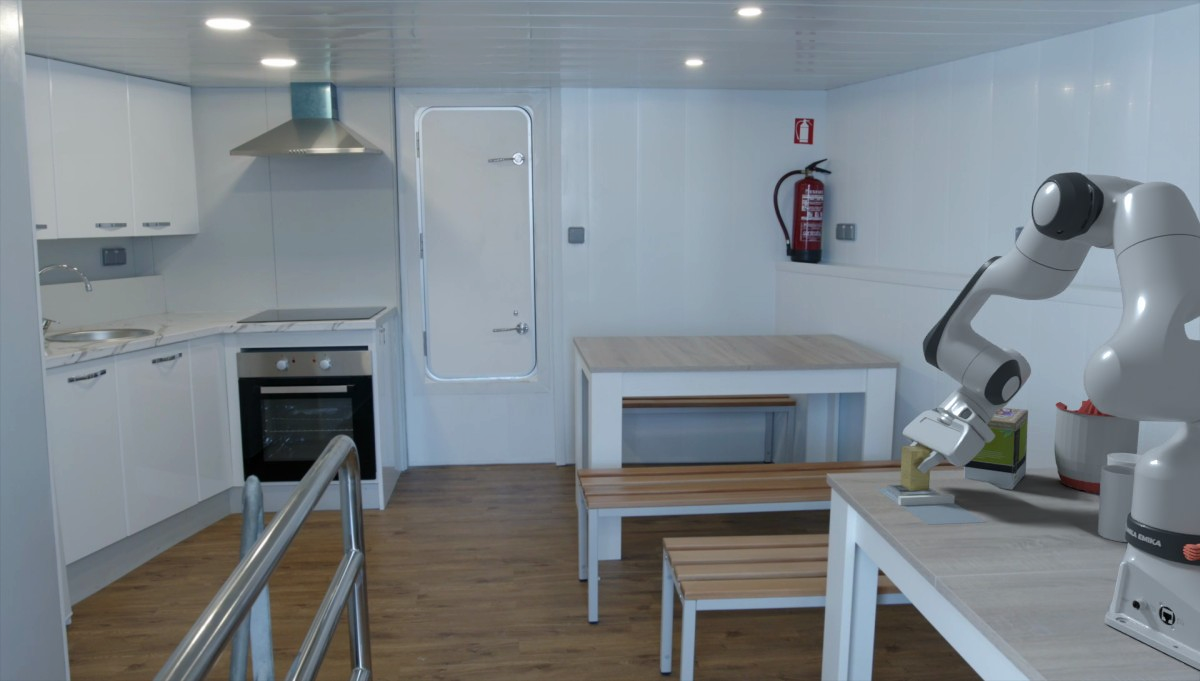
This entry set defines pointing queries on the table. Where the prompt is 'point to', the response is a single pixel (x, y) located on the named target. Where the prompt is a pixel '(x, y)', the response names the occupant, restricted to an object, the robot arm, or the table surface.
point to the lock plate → (933, 507)
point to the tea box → (1002, 451)
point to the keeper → (897, 488)
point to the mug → (1115, 501)
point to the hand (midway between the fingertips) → (912, 466)
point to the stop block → (914, 468)
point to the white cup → (1123, 459)
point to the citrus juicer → (1089, 443)
